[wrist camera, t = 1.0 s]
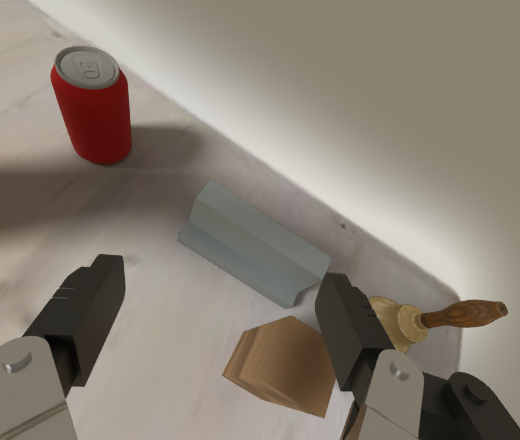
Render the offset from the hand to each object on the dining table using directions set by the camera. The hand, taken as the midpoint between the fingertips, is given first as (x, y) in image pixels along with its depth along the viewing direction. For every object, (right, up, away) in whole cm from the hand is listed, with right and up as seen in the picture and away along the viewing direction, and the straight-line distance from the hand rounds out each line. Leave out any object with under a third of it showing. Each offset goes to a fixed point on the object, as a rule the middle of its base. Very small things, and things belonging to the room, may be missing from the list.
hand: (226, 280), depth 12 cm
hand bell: (+19, -13, +29) cm, 36 cm away
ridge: (-1, -2, +26) cm, 26 cm away
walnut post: (0, -14, +20) cm, 25 cm away
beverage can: (-19, +12, +26) cm, 34 cm away
